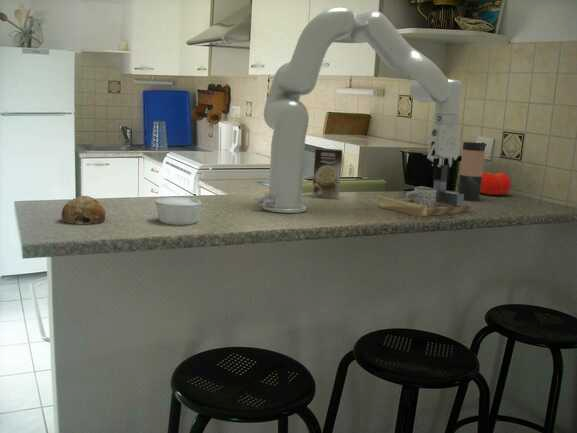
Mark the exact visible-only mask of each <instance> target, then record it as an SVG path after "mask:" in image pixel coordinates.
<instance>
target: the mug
mask: <svg viewBox="0 0 577 433" xmlns="http://www.w3.org/2000/svg"><path fill="white" fill-rule="evenodd" d="M416 187H417V188H416ZM416 187H414V190H411V191H408V192H406V194H405V197H404V199H405V201H407V202H408V199H410V196H413V198H414V201H413V203H416V204H420V205H425V206H427V208H431V207H436V204H435V201H436V191H437V190H436V189H432V187H428V188H423V187H424V186H423V187H421V186H416Z"/></svg>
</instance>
